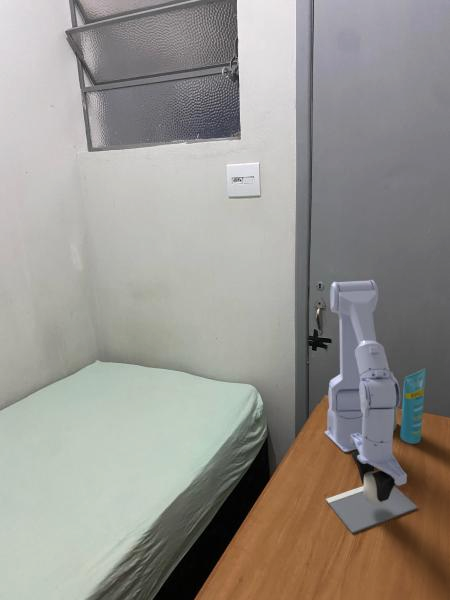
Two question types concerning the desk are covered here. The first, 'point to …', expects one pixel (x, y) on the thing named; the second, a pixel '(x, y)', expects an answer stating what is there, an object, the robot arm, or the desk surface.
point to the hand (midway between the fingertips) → (374, 491)
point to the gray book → (368, 508)
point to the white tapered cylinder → (371, 489)
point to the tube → (412, 407)
